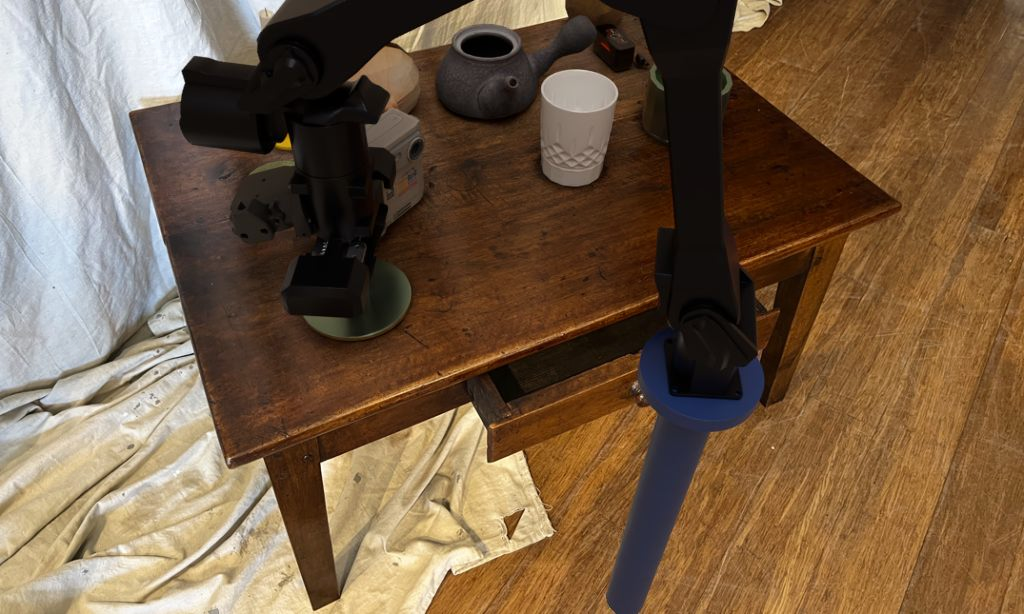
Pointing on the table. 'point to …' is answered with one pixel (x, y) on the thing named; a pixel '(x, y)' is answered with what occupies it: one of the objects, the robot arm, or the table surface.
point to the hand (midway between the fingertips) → (355, 293)
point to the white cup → (576, 125)
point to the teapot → (501, 67)
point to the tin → (655, 104)
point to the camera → (399, 160)
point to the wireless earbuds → (616, 48)
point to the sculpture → (394, 77)
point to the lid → (371, 307)
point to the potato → (593, 12)
